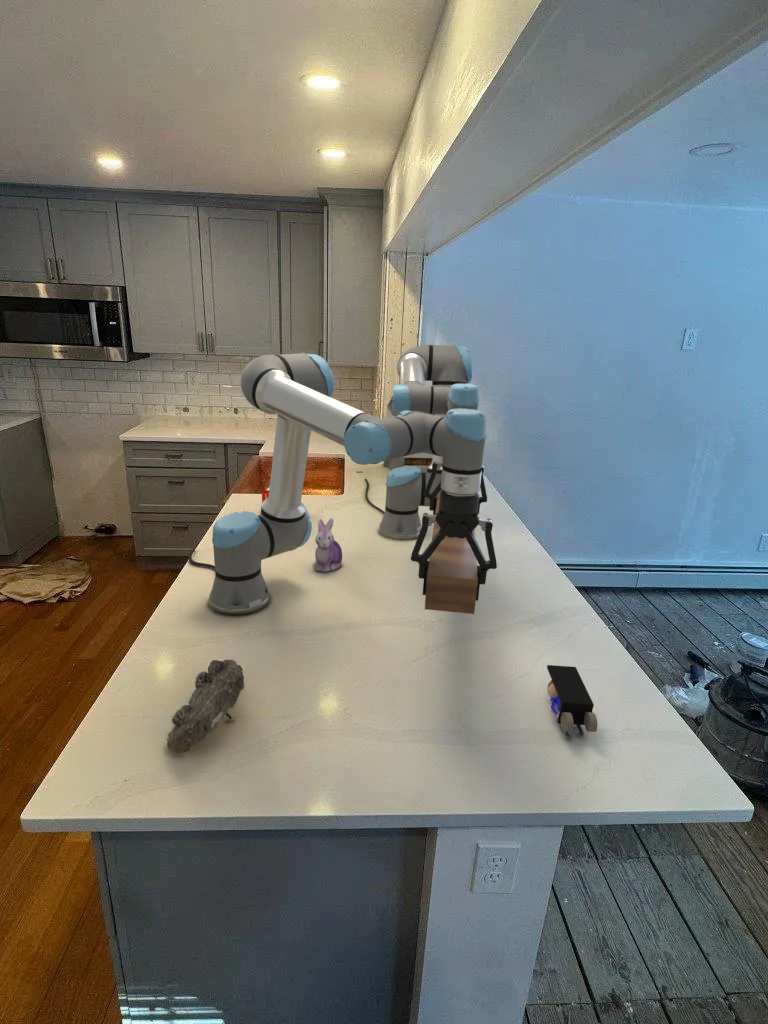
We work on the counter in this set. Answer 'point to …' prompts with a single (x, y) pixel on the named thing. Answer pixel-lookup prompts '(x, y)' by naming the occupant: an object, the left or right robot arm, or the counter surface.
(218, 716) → the fossil
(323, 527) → the figurine
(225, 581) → the left robot arm
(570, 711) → the figurine character
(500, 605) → the counter surface
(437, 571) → the slab
